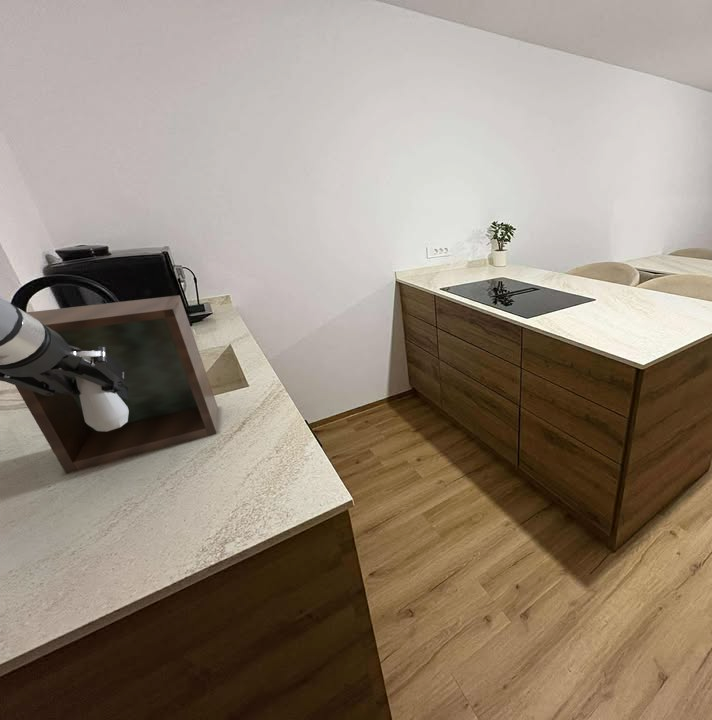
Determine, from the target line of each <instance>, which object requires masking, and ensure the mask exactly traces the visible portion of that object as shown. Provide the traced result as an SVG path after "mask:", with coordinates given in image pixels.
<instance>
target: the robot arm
mask: <svg viewBox="0 0 712 720" xmlns="http://www.w3.org/2000/svg"><path fill="white" fill-rule="evenodd" d="M84 359H85V360H87V361H89V362H87V361H85V360H84ZM72 377H79V378H82V379H85V380H87V381H90V382H93V383H95V384H98V385H101V386H102V390H103V391H106V392H112V393H115V394H116V393H117V395H118V396H119V397H120V398H121V399H122V401H126V400H128V396H127V386H125V385H124V383H125V369H123V368H122V367H121V366H120V365H119V364H118V363H117V362H116V361H114V360H113V359H112V358H111V357H110V356H109V355H108V354H107V353H106V348H105V347H96V348H95V350H92V351H82V350H81V349H79V348H77V347H74V346H70V345H68V344H67V343H66V342H65V340H64V339H63V338H62V337H61V336H60V335H59V334H58V333H56V332H55V331H53V330H52V329H50V328H49V327H47V326H46V325H44V324H42V323H41V322H39V321H38V320H37V319H35V318H34V317H32V316H30V315H29V314H27V313H26V312H25V311H24V310H22V308H21V309H20V308H19V307H18V306H16V305H14V304H13V303H11V302H10V301H7V300H6V299H4V298H3V297H1V296H0V382H3V383H4V382H5V383H7V384H11V385H14V386H15V385H16V386H19V387H22V388H25V389H28V390H31V391H34V392H37V393H40V394H43V395H47V396H51V395H54V394H55V392H60V393H61V394H69V395H71V396H73V397H76V398H80V396H79V395H80V394H81V393H80V391H79V390H78V387H77V382H76V380H74V383H73V382H72ZM16 386H15V387H16Z"/></svg>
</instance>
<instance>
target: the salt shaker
mask: <svg viewBox="0 0 712 720" xmlns="http://www.w3.org/2000/svg"><path fill="white" fill-rule="evenodd" d="M84 360H85V359H84ZM85 361H87V360H85ZM87 362H89V361H87ZM76 382H77V387H78V390H79V391H80V393H81V394H80V395H79V396H80V401H81V405H82V410H83V415H84V420H85V422H86V423H87V424H88V425H89V426H91V427H92V428H94V429H95V430H97V431H110V430H113V429H116V428H119V427H121V426H123V425H124V424H125V423H127V422H128V414H129V410H128V407H127V406H126V404H125V403H124V402H123V401H122V399H121V398H120V397H119V396H118V395H117V393H116V394H115V393H112V392H106V391H103V390H102V386H101V385H98V384H95V383H93V382H90V381H87V380H85V379H82V378H79V377H76Z"/></svg>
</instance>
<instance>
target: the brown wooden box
mask: <svg viewBox="0 0 712 720" xmlns="http://www.w3.org/2000/svg"><path fill="white" fill-rule="evenodd" d="M26 313H27V314H29V315H30V316H32V317H34V318H35V319H37V320H38V321H39V322H41V323H42V324H44V325H46V326H47V327H49V328H50V329H52V330H53V331H55V332H56V333H58V334H59V335H60V336H61V337H62V338H63V339H64V340H65V342H66V343H67V344H68V345H70V346H74V347H77V348H79V349H81V350H82V351H92V350H95V348H96V347H105V348H106V353H107V354H108V355H109V356H110V357H111V358H112V359H113V360H114V361H116V362H117V363H118V364H119V365H120V366H121V367H122V368H123V369H125V383H124V385H125V386H127V396H128V400H126V401H123V402H124V403H125V404H126V406H127V407H128V410H129V414H128V422H127V423H125V424H124V425H123V426H121V427H119V428H116V429H113V430H110V431H97V430H95V429H94V428H92V427H91V426H89V425H88V424H87V423H86V422H85V420H84V415H83V410H82V405H81V401H80V398H76V397H73V396H71V395H69V394H61V393H60V392H55V394H54V395H51V396H47V395H43V394H40V393H37V392H34V391H31V390H28V389H25V388H22V387H19V386H16V385H14V386H15V388H16V390H17V391H18V393H19V395H20V396H21V399H22V400H23V402H24V404H25V405H26V407H27V409H28V410H29V412H30V414H31V416H32V417H33V419H34V421H35V422H36V424H37V426H38V428H39V429H40V431H41V433H42V434H43V437H44V438H45V440H46V442H47V443H48V445H49V447H50V448H51V450H52V452H53V454H54V456H55V457H56V459H57V461H58V462H59V464H60V466H61V468H62V469H63V471H64V473H65V474H66V475H68V474H71V473H74V472H78V471H82V470H86V469H90V468H94V467H97V466H100V465H105V464H108V463H112V462H116V461H120V460H123V459H127V458H131V457H134V456H138V455H142V454H146V453H149V452H153V451H157V450H162V449H165V448H168V447H169V448H170V447H173V446H176V445H180V444H184V443H187V442H191V441H196V440H199V439H202V438H208V437H210V436H211V437H212V436H214V435H217V434H218V421H219V407H218V404H217V400H216V398H215V395H214V391H213V389H212V385H211V383H210V379H209V377H208V374H207V370H206V367H205V366H204V361H203V359H202V356H201V354H200V353H201V352H200V351H199V347H198V345H197V342H196V339H195V335H194V333H193V329H192V327H191V324H190V321H189V318H188V315H187V313H186V310H185V307H184V303H183V301H182V298H181V295H179V294H178V295H170V296H161V297H152V298H143V299H134V300H126V301H125V300H124V301H117V302H107V303H99V304H98V303H97V304H89V305H81V306H80V305H79V306H72V307H62V308H54V309H45V310H35V311H27V312H26ZM74 380H76V377H72V382H73V383H74Z"/></svg>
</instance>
